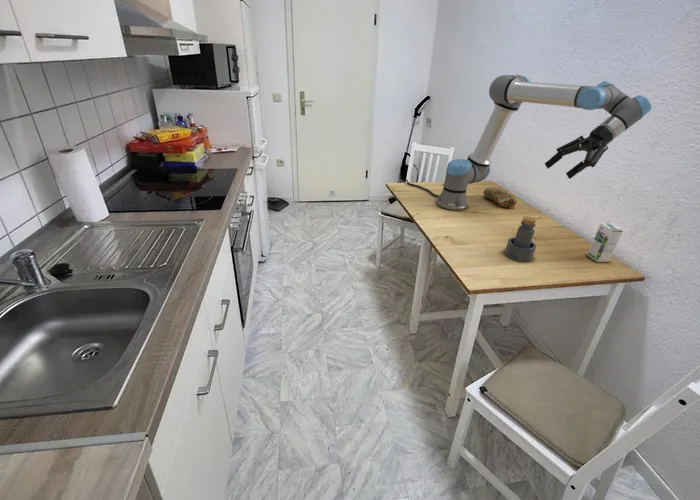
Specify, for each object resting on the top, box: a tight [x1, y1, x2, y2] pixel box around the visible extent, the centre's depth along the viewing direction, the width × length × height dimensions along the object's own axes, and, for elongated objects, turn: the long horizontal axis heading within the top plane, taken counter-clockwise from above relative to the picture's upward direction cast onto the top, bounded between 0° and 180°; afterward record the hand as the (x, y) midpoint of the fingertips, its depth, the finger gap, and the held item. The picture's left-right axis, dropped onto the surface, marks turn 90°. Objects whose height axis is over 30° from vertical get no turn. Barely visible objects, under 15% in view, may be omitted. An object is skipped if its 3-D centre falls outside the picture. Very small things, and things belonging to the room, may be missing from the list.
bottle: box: [514, 215, 537, 248], centre depth 141 cm, size 6×6×15 cm
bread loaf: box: [483, 187, 517, 209], centre depth 198 cm, size 13×8×20 cm
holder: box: [504, 236, 537, 263], centre depth 144 cm, size 10×10×6 cm
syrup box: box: [586, 222, 624, 263], centre depth 142 cm, size 6×6×14 cm
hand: (556, 171), depth 140 cm, fingers open, 13 cm apart
